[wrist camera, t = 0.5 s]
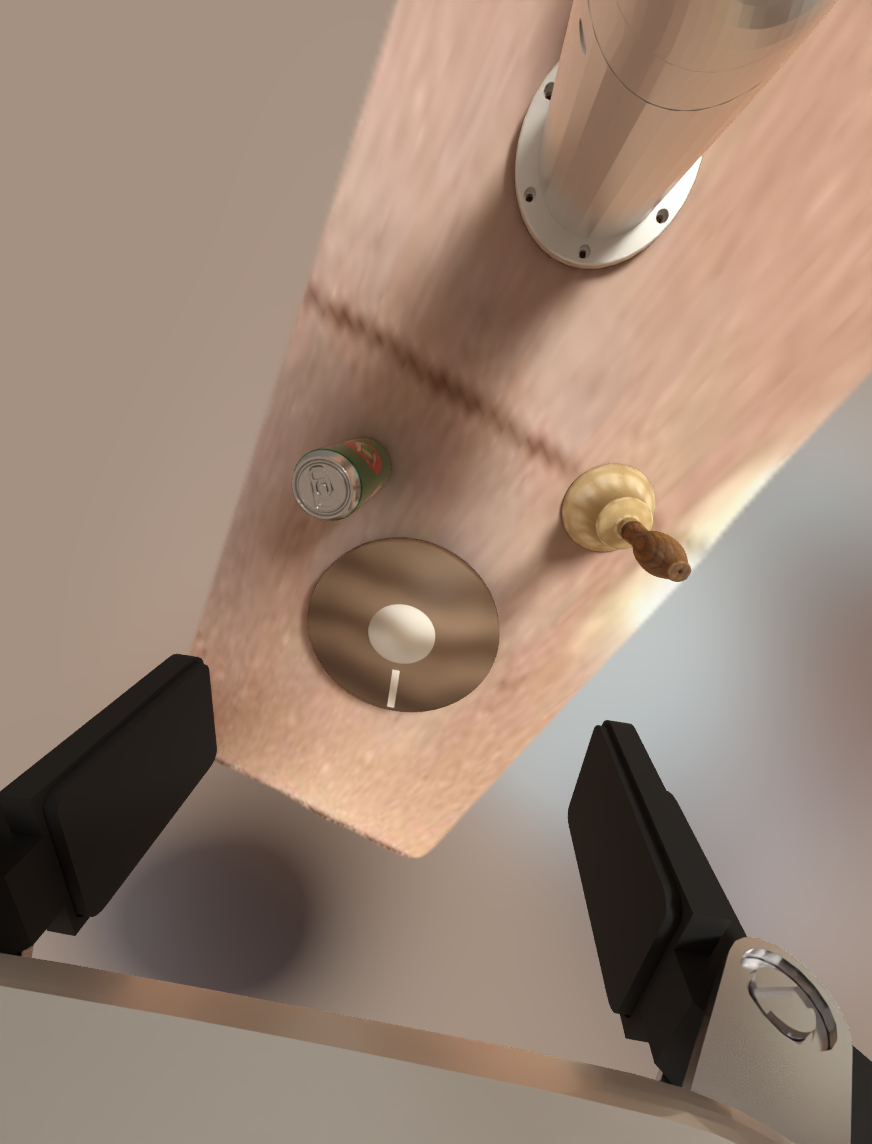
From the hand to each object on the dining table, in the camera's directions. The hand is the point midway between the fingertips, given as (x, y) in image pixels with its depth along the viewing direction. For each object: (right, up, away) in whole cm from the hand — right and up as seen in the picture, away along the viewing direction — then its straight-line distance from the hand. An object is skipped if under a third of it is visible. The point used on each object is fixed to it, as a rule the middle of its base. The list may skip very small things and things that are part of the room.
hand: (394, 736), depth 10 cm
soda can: (-6, +14, +30) cm, 33 cm away
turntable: (-2, -2, +34) cm, 35 cm away
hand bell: (+17, +10, +29) cm, 35 cm away
